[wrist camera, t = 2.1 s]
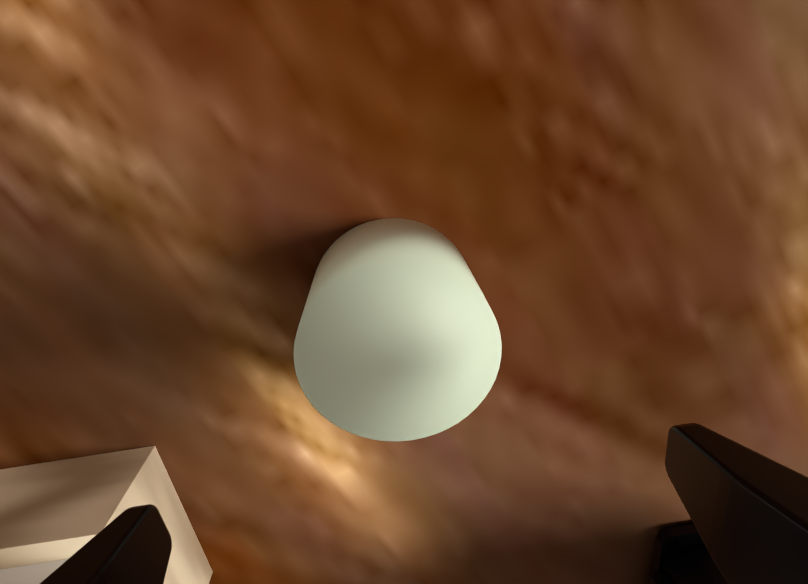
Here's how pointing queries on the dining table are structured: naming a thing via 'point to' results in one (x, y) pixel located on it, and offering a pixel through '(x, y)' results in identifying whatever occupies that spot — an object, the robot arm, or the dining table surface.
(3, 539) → the base block
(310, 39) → the dining table surface
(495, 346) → the pale green rounded cylinder
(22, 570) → the top block
